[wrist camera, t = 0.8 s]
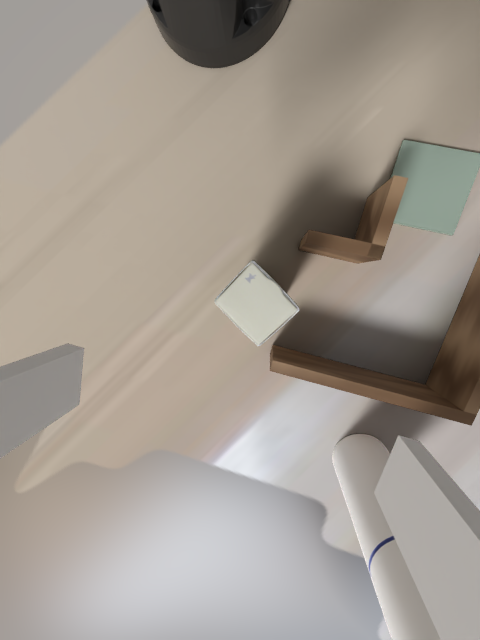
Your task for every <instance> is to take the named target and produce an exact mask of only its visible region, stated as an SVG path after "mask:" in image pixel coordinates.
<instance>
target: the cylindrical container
mask: <svg viewBox="0 0 480 640" xmlns="http://www.w3.org/2000/svg"><path fill="white" fill-rule="evenodd" d="M389 456H390V453H389V451H388V450H387V448H386V447H385V445H384V444H383V443H382V442H381V441H380V440H378V439H377V438H375V437H373V436H370V435H366V434H353V435H350V436H347V437H345V438H343V439H342V440H340V441H339V442H338V443H337V445H336V446H335V448H334V450H333V453H332V461H333V465H334V468H335V471H336V474H337V477H338V480H339V483H340V486H341V489H342V492H343V495H344V498H345V501H346V504H347V507H348V510H349V513H350V516H351V519H352V522H353V525H354V528H355V531H356V534H357V537H358V540H359V543H360V546H361V549H362V552H363V555H364V558H365V561H366V564H367V567H368V570H369V573H370V576H371V579H372V582H373V585H374V588H375V591H376V594H377V597H378V600H379V603H380V606H381V609H382V612H383V615H384V618H385V621H386V624H387V627H388V630H389V633H390V636H391V639H392V640H441V639H440V637H439V635H438V632H437V630H436V628H435V626H434V624H433V621H432V619H431V617H430V615H429V613H428V610H427V608H426V606H425V604H424V602H423V600H422V597H421V595H420V593H419V591H418V589H417V586H416V584H415V582H414V580H413V578H412V575H411V573H410V571H409V569H408V567H407V564H406V562H405V560H404V558H403V556H402V553H401V551H400V549H399V547H398V545H397V543H396V540H395V538H394V536H393V534H392V532H391V529H390V527H389V525H388V523H387V521H386V518H385V516H384V514H383V512H382V510H381V507H380V505H379V503H378V501H377V499H376V497H375V494H374V491H375V489H376V486H377V484H378V482H379V479H380V477H381V475H382V472H383V470H384V468H385V465H386V463H387V461H388V458H389Z"/></svg>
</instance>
